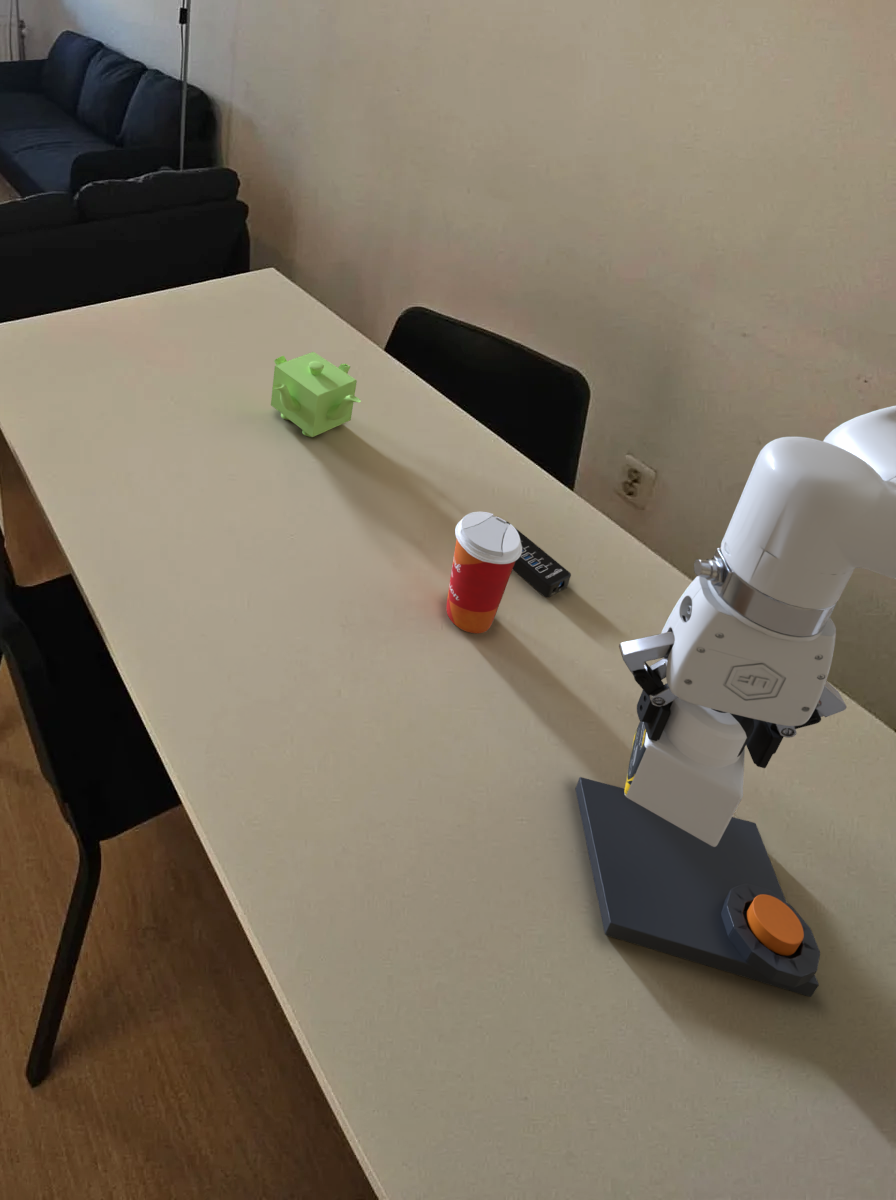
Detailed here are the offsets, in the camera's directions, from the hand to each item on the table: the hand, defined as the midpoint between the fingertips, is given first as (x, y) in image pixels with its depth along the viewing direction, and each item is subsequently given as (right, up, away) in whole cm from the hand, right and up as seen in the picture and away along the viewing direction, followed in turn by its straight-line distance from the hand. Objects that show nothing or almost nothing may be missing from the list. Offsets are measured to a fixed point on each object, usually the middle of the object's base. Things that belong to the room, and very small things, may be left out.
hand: (700, 737), depth 68 cm
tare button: (+6, -16, 0) cm, 17 cm away
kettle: (-22, +11, +69) cm, 73 cm away
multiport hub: (+3, -2, +41) cm, 41 cm away
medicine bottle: (-1, -7, +3) cm, 7 cm away
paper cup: (-8, -5, +32) cm, 34 cm away
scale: (+2, -17, +6) cm, 18 cm away
